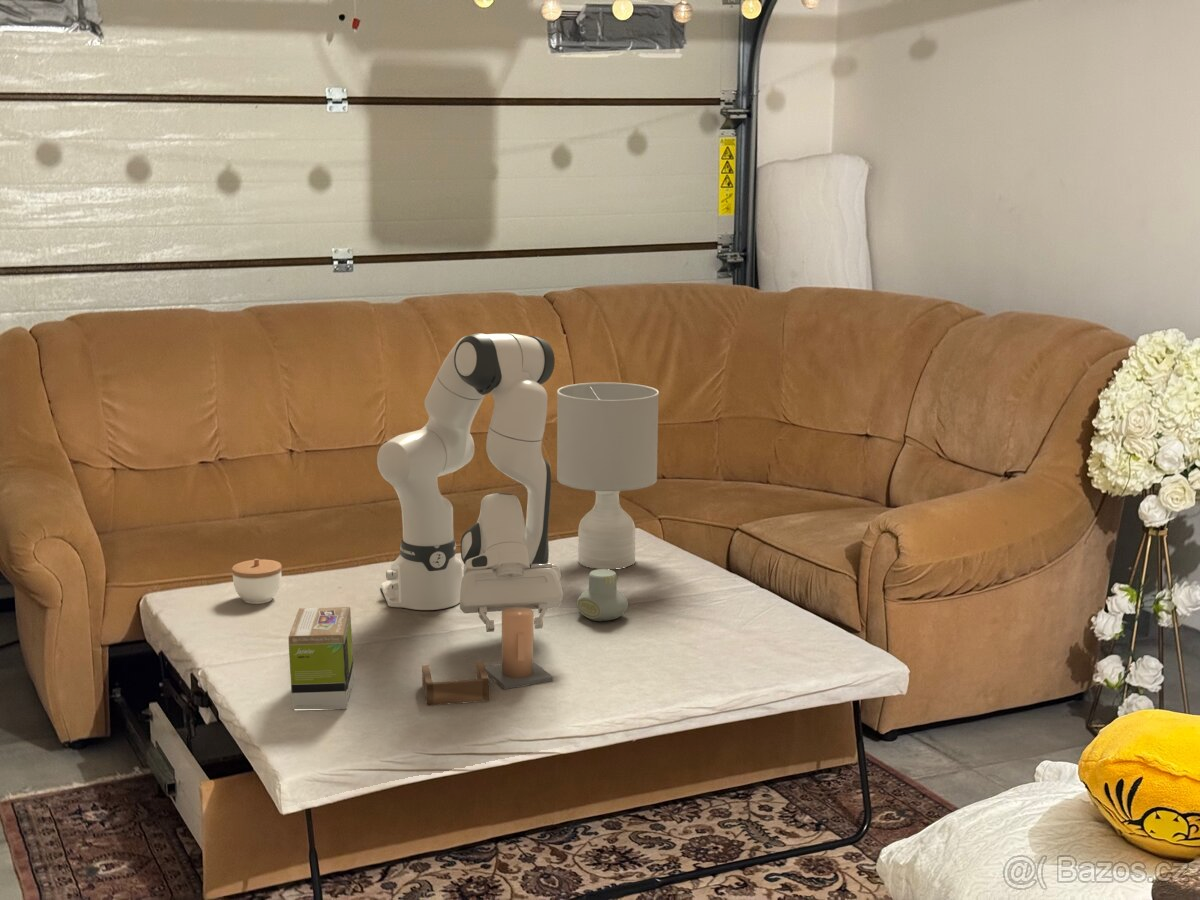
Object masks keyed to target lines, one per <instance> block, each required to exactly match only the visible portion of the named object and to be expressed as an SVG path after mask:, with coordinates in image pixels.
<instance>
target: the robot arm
mask: <svg viewBox="0 0 1200 900" xmlns="http://www.w3.org/2000/svg"><path fill="white" fill-rule="evenodd" d="M555 365H556V364H555V352H554V350H553V347H552V346H551V345H550V343H549V342H548V341H546V340H545V339H542V338H540V337H539V336H534V335H524V334H523V335H522V334H517V333H512V332H511V333H509V332H505V333H487V334H486V333H482V332H479V333H474V334H473V333H472V334H470V335H466V336H463V337H461V338H460V339H459V340H458V341H457V342H456V343H455V345H454V346H453V347H452V348H451V350H450V351H449V353H448V354H447V356H446V357H445V359H444V360H443V362H442V364H441V365H440V368H439V369H438V372H437V374H436V376H435V377H434V379H433V382H432V384H431V386H430V389H429V390H428V393H427V394H426V397H425V398H424V409H425V411H426V413H427V415H428V421H427V422H426V424H425V425H424V426H423V427H422V428H420V429H417V430H413V431H409V432H405V433H402V434H399V435H396V436H394V437H392V438H391V439H389V440H388V441H386V442H384V443H383V444H382V445H381V446H380V447H379V450H378V451H377V456H376V464H377V469H378V471H379V474H380V475H381V477H382V479H384V480H385V481H386V482H387V483H389V484H391V486H392V487H393V488H394V490H395V493H396V494H397V496H398V500H399V503H400V507H401V520H402V521H401V522H402V537H401V541H400V542H401V543H400V545H399V546H400V547H399V549H400V550H399V556H398V557H397V558H396V559H395V560H394V561H393V562H392V563H391V566H390V569H387V570H385V579H386V580H385V581H383V582H382V583H381V585H380V589H381V591H382V593H383V596H384V599H385V601H386V603H387V606H389V607H391V608H404V609H409V610H417V611H434V610H436V611H437V610H442V609H447V608H451V607H454V606H456V605H458V604H459V609H460V610H461V612H462V613H464V614H474V613H475V614H476V613H477V614H478V617H479V619H480V620H481V622H482V623H483V624H484V625H485V631H486V633H492V632H495V622H494V621H495V620H494V619H492V620H491V619H489V617H488V616H487V613H490V612H491V613H494V612H502V611H503V610H505V609H507V608H512V607H524V608H528V609H531V610H537V611H538V614H539V616H537V617H533V628H534V629H537V630H538V629H543V627H544V626H543V625H544V623H543V622H544V621H543V619H544V617H545V615H546V612H547V609H556V608H560V606H561V605H562V603H563V600H564V593H563V589H562V585H561V580H562V574H561V573H562V572H561V569H560V568H559V567H558V566H557V565H555V564H553V563H551V562H549V552H550V551H549V550H550V549H549V547H550V546H549V524H550V510H551V509H550V508H551V498H552V497H551V496H552V471H551V467H550V463H549V462H548V461H547V460H546V459H545V458H544V456H543V451H542V445H543V438H544V433H545V431H546V430H545V429H546V425H547V424H546V423H547V415H548V398H549V397H548V393H547V391H546V388H544V386H543V384H544V383H546V382H547V381H548V380H549V379H550V378H551V377H552V375H553V373H554V369H555ZM488 394H491V396H492V398H493V402H494V403H493V411H492V416H491V418H490V424H489V426H488V430H487V437H486V444H485V451H486V455H487V457H488V460H489V461H490V462H491V464H492V465H493V466H494V468H495V469H497V470H498V471H499V472H501V473H502V474H504V475H505V476H506V477H509V478H511V479H512V480H514V481H516V482H518V483H519V484H521V485H522V486H523V487H525V489H526V491H527V502H526V503H527V505H526V518H525V517H524V516H525V515H524V513H523V508H522V504H521V502H520V500H519V498H518V496H516V495H515V494H511V493H506V492H494V493H490V494H487V495H485V496H483V497H482V499H481V502H480V510H479V511H480V512H479V516H478V518H477V520H476V523H475V524H473V525H472V526H471V527H470V528H469V529H467V530H466V531H465V532H464V533H463V535H462V536H461V540H460V558H461V560H462V561H461V560H460V559H459V558H458V557H456V552H457V551H456V550H457V544H456V538H455V537H454V507H453V504H452V502H451V501H450V500H449V499H448V498H446V497H445V496H443V495H442V494H441V491H440V488H439V484H438V477H442V476H446V475H449V474H452V473H455V472H456V471H458V470H460V469H462V468H464V467H465V466H466V465H467V464H469V463H470V462H471V461H472V459H473V457H474V455H475V442H474V438H473V435H472V434H471V427H472V423H473V421H474V419H475V416H476V414H477V413H478V410H479V408H480V406H481V404H482V402H483V400H484V398H485V396H486V395H488ZM462 563H463V564H464V567H462V565H463V564H462Z"/></svg>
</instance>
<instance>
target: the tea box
mask: <svg viewBox="0 0 1200 900" xmlns="http://www.w3.org/2000/svg"><path fill="white" fill-rule="evenodd" d="M351 614H352V613H351V606H340V607H339V606H338V607H337V606H336V607H333V606H332V607H309V608H306V607H305V608H300V607H299V609H298V611H297V614H296V616H295V619H294V621H293V623H292V627H291V629H290V632H289V634H288V654H289V655H288V656H289V672H290V673H289V674H290V690H291V692H290V693H291V707H292V710H293V709H342V710H346V709H347V708H348V703H349V701H350V695H351V691H352V688H353V684H354V680H355V667H354V666H355V665H354V653H353V652H354V651H353V650H354V649H353V634H352V633H353V632H352V616H351Z"/></svg>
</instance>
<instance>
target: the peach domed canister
mask: <svg viewBox="0 0 1200 900" xmlns="http://www.w3.org/2000/svg"><path fill="white" fill-rule="evenodd" d="M533 661H534V610H533V609H528V608H524V607H512V608H507V609H505V610H503V611H501V664H502V674H503V675H505V676H508V677H513V678H521V677H527V676H530V675H531V674H532V673H533Z"/></svg>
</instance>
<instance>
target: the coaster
mask: <svg viewBox="0 0 1200 900" xmlns="http://www.w3.org/2000/svg"><path fill="white" fill-rule="evenodd" d="M485 669H486V672H487V675H488V677H489V678H491V679H492V678H493V679H494V680H495V681H496V683H497V684H498V685H499V686H500V688H502V687H503V688H504V689H503V688H502V689H503V690H508V689H507V688H509V689H514V688H519V687H525V686H531V685H534V684H535V683H536V684H541V682H542V683H546V682H545V681H547V682H551V681H552V680H553V679H554V677H553V675H552V674H550V673H549V672H548V671H547V670H545V669H544V668H543V667H541V666H540V665H539V664H538V663H537V662H535V661H534V660H533V673H532V674H531V675H530V676H527V677H521V678H513V677H508V676H505V675H503V674H502V663H500V664H496V665H495V664H494V665H491V666H490V665H489V666H485ZM493 679H492V680H493ZM494 680H493V681H494ZM495 681H494V682H495ZM552 682H553V681H552ZM536 684H535V685H536ZM524 685H525V686H524Z"/></svg>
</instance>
